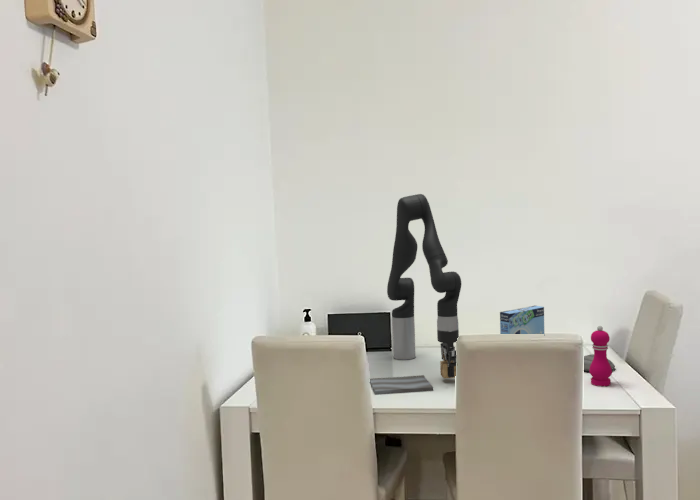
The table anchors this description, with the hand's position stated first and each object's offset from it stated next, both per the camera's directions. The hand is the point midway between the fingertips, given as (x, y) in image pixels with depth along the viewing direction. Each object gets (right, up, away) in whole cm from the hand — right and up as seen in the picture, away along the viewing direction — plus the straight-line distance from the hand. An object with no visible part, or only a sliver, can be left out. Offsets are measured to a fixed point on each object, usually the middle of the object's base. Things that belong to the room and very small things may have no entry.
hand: (449, 374), depth 234 cm
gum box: (+30, 0, +13) cm, 32 cm away
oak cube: (0, 0, 0) cm, 0 cm away
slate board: (-18, -3, -4) cm, 18 cm away
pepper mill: (+50, -1, -11) cm, 51 cm away
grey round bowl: (+55, 0, +10) cm, 56 cm away
